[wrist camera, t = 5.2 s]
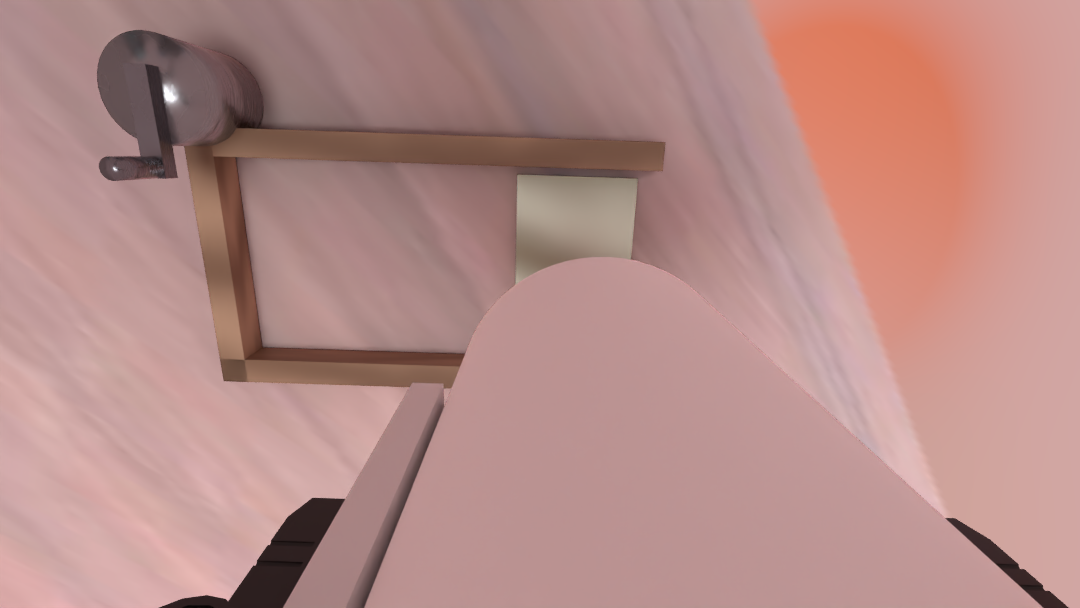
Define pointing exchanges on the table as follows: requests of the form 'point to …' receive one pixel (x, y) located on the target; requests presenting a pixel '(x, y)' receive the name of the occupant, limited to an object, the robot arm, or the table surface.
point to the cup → (656, 471)
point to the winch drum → (171, 100)
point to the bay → (542, 200)
